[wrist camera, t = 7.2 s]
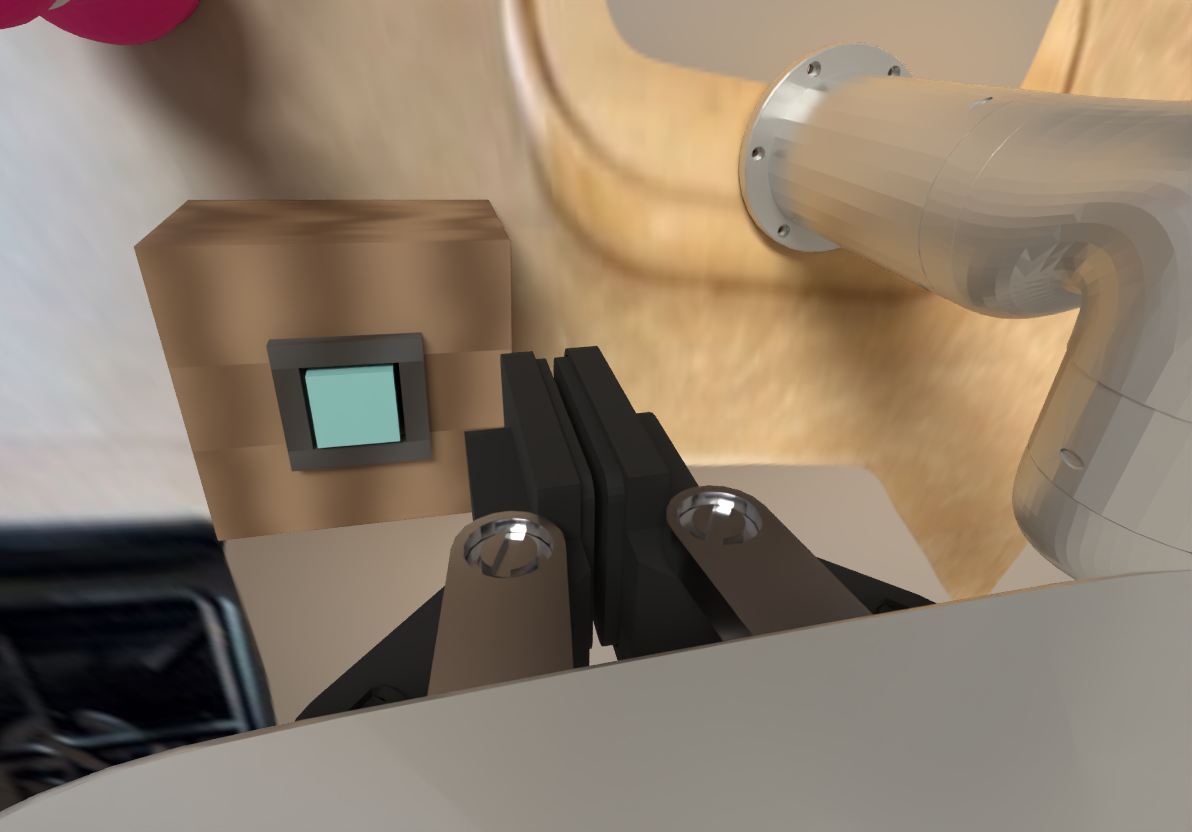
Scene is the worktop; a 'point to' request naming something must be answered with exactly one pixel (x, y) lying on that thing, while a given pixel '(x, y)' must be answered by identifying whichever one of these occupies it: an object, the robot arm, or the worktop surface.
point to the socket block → (330, 350)
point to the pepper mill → (102, 17)
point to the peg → (354, 404)
